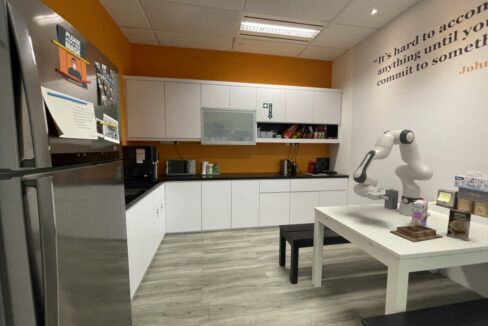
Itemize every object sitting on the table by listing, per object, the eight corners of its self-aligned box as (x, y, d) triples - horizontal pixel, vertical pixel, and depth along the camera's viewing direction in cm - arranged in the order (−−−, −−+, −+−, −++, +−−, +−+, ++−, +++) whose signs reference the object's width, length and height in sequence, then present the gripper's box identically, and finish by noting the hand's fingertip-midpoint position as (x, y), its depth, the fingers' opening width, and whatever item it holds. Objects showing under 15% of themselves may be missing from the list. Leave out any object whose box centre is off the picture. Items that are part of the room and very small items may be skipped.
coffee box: (446, 236, 129) (449, 209, 128) (447, 233, 134) (449, 207, 132) (468, 241, 123) (471, 213, 121) (468, 237, 127) (471, 211, 126)
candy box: (421, 229, 140) (424, 204, 138) (410, 226, 144) (412, 202, 143) (426, 224, 149) (428, 201, 147) (416, 222, 153) (418, 199, 152)
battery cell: (389, 207, 143) (391, 188, 142) (397, 209, 139) (398, 189, 138) (384, 207, 142) (385, 188, 141) (391, 209, 137) (393, 190, 136)
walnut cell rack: (417, 228, 140) (417, 222, 140) (442, 237, 127) (443, 230, 127) (390, 232, 133) (390, 226, 133) (414, 242, 120) (414, 235, 119)
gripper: (362, 189, 149) (380, 194, 136) (385, 188, 155) (404, 192, 142) (362, 198, 149) (380, 204, 136) (384, 197, 155) (403, 202, 142)
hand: (392, 198), depth 139 cm, fingers closed on battery cell, 5 cm apart
